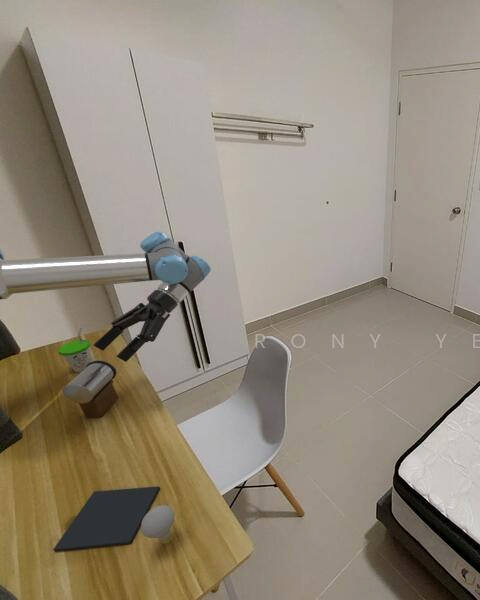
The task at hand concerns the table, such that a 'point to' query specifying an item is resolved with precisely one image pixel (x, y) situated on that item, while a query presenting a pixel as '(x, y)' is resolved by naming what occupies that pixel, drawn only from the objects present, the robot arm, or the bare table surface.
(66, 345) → the cup
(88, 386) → the pot
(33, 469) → the table surface
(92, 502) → the mat
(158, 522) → the light bulb
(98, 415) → the dark brown wooden block
